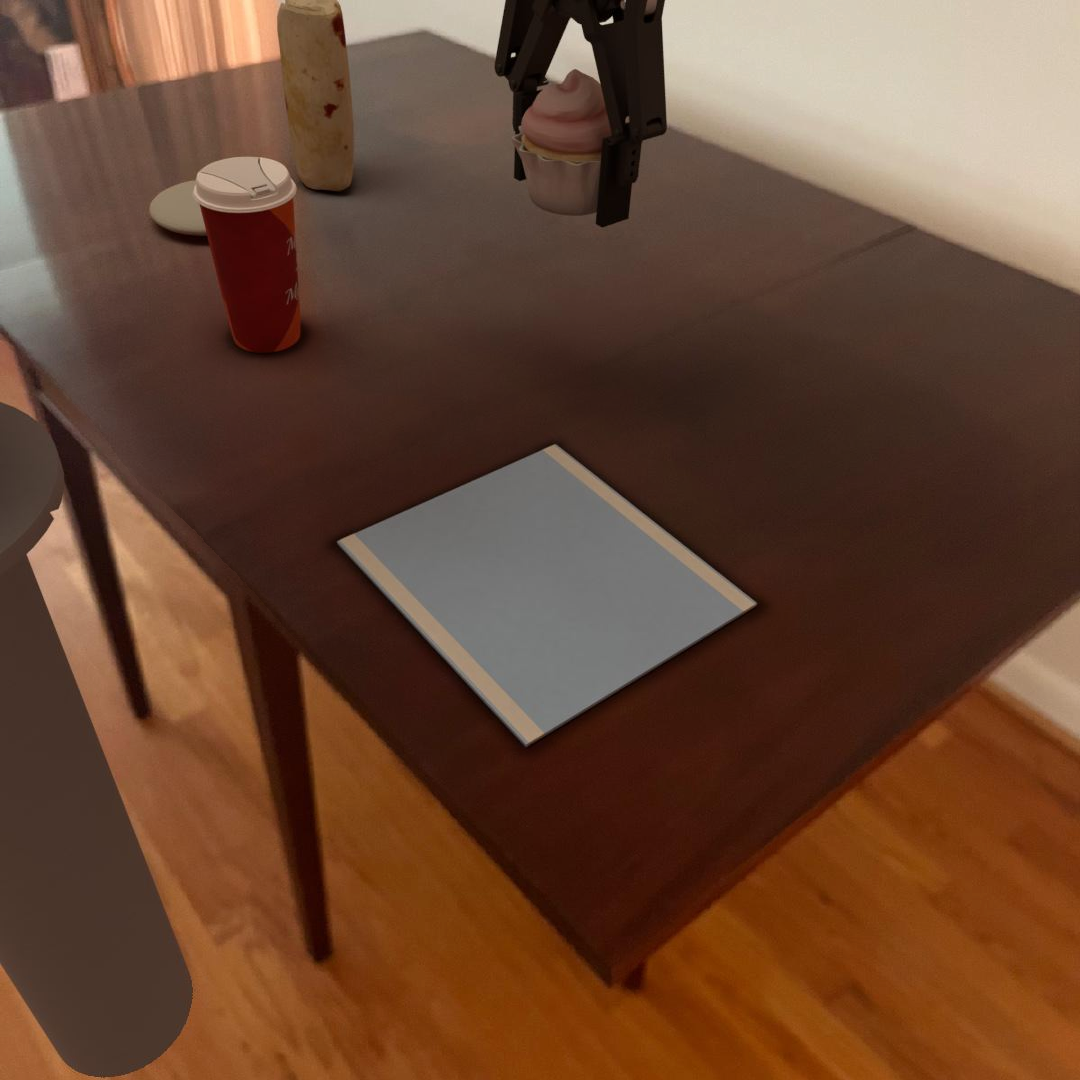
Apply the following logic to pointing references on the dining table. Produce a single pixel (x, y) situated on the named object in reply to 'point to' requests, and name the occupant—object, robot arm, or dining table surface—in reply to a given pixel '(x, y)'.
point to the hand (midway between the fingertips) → (569, 197)
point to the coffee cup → (253, 248)
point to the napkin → (544, 588)
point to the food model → (317, 91)
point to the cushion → (178, 210)
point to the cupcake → (564, 145)
